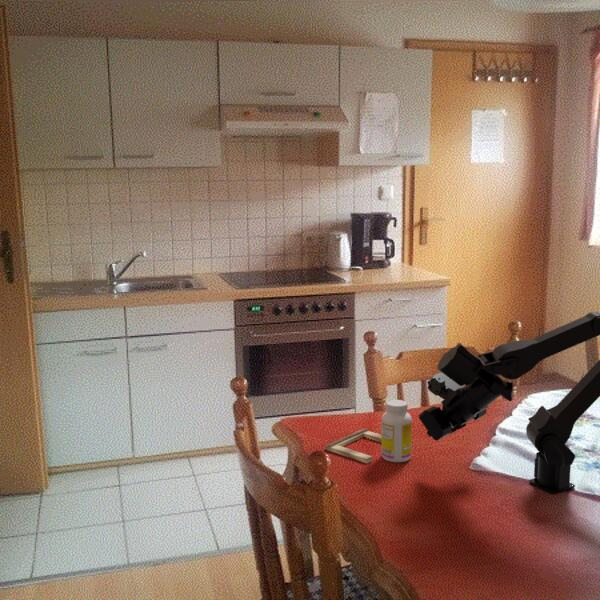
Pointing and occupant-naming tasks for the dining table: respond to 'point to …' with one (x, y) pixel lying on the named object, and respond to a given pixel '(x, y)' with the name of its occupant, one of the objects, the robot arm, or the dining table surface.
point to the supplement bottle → (396, 432)
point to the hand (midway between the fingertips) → (428, 434)
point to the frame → (339, 444)
